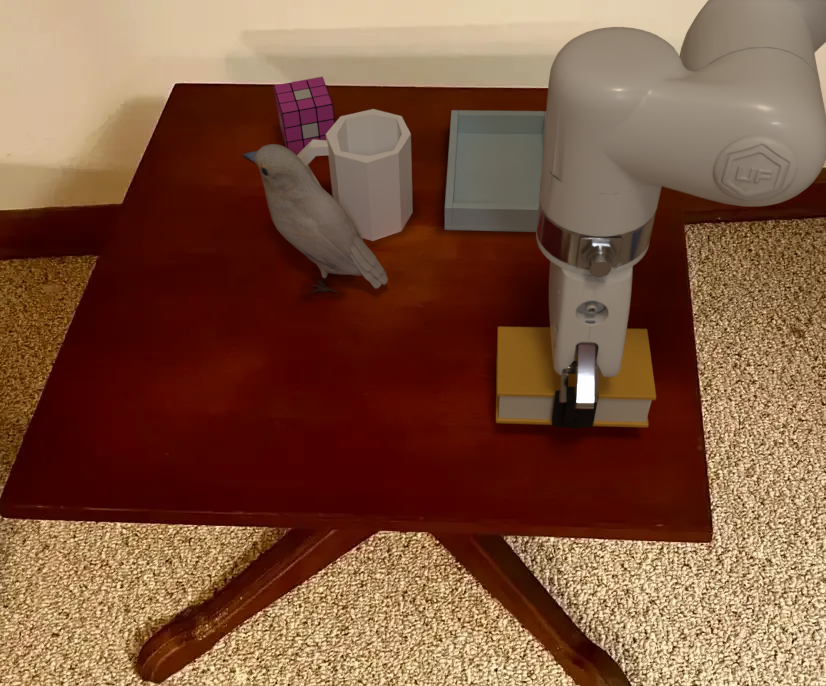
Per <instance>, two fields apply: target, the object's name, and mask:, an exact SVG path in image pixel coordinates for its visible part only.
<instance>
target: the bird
mask: <svg viewBox="0 0 826 686" xmlns="http://www.w3.org/2000/svg"><path fill="white" fill-rule="evenodd" d="M297 155H298V154H297ZM297 155H296V154H295V153H294V152H292V151H291V150H289V149H288V148H286V146H283V145H282V144H276V143H272V144H271V143H270V144H266V145H262V146H261V147H260V148H259V149H258V150H255V151H250V152H245V153H243V154H242V155H241V157H243V158H245V159H246V160H247V161H249V162H252V163H254V164H255V165H256V166H257V167H258V170H259V174H260V177H261V181H262V184H263V188H264V193H265V198H266V203H267V207H268V211H269V213H270V218H271V221H272V223H273V224H274V227H275V228H276V230H277V231H278V233H280V235H281V236H282V237H283V238H284V239H285V240H286V241H287V242H289V244H291V245H292V246H293V247H294V248H295V249H297V250H298V251H299V252H300V253H302V254H303V255H304V256H305V257H306V258H308V260H310V261H311V262H312V263H313V264H315V265H316V266H317V267H318V269H319V271H320V275H321V276H320V277H321V279H320V280H317V283H318V284H311V287H315V288H316V289H314V290H312V292H311V293H310V294H309V295H312V294H314V293H318V292H320V293H327V292H333V293H336V294H338V292H337V290H335V289H334V288H331V287H328V286H327V285H326V283H325V279H326V278H327V277H328V275H332V276H337V275H341V276H343V275H344V276H347V277H349V276H359V277H360V276H362V277H364V279H365V280H366V281H368V282H369V284H370V285H371V286H372V287H373V288H374V289H379V288H380V287H381V286H382V285H383V286H385V285H386V284H387V283H388V281H389V278H388V276H387V271H386V270H385V269H384V267H383V266H382V265H381V263H380V261H379V259H377V256H376V255H375V253H374V252H373V251H372V250H371V249H370V248H369V247H368V245H366V243H365V241H364V238H362V237H361V234H360V233H359V231H358V229H357V227H356V226H355V224H354V223H353V221H352V220H351V218H350V217H349V216H348V215H347V213H346V212H345V210H344V209H343V208H342V206H341V205H340V204H339V203H338V202H337V201H336V200H335V199H334V198H333V195H331V194H330V193H329V192H327V191H326V189H324V188H323V187H322V185H321V184H320V183H319V184H320V185H321V186H320V185H319V184H318V183H317V182H316V180H315V179H314V178H313V176H312V175H311V174H310V172H309V171H308V169H307V168H306V166H305V165H304V163H303V162H302V161H301V159H300V158H299V157H298V156H297Z"/></svg>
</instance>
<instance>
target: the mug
mask: <svg viewBox="0 0 826 686" xmlns="http://www.w3.org/2000/svg"><path fill="white" fill-rule="evenodd" d="M297 156H298V157H299V158H300V159H301V161H302V162H303V163H304V165H305V166H306V168H307V169H308V171H309V172H310V174H311V175H312V176H313V178H314V179H315V180H316V182H317V183H318V184H319V185H320V186H321V187H322V185H321V184H320V182H319V180H318V179H317V177H316V175H315V174H314V172H313V170H312V169H311V167H310V165H309V164H310V163H311V162H312V161H313V160H314V159H315V158H316V157H322V156H323V157H324V156H327V157H328V165H329V166H328V167H329V173H330V176H329V177H330V182H331V193H332V197H333V198H334V199H335V200H336V201H337V202H338V203H339V204H340V205H341V206H342V208H343V209H344V210H345V212H346V213H347V215H348V216H349V217H350V218H351V220H352V221H353V223H354V224H355V226H356V227H357V229H358V231H359V233H360V234H361V237H362V239H363V240H368V241H370V242H374V241H377V240H379V239H382V238H386V237H389V236H392V235H395V234H399V233H401V232H402V231H403V230H404V228H405V226H406V225H407V223H408V221H409V220H410V218H411V216H412V214H413V213H414V211H413V209H414V207H413V206H414V205H413V168H412V167H413V166H412V165H413V164H412V134H411V131H410V129H409V127H408V126H407V124H406V122H405V119H404V118H403V116H402V115H398V114H395V113H391V112H387V111H383V110H379V109H375V108H372V109H367V110H363V111H359V112H354V113H349V114H345V115H340V116H339V117H338V118H337V120H336V121H335V124H334V125H333V126H332V127H331V128H330V130H329V131H328V132H327V133H326V140H314V139H313V140H312V141H311V142H310V143H309V144H308V145H307V146H306V147H305V148H304V149H303V150H302V151H301V152H300V153H299V154H297Z"/></svg>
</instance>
